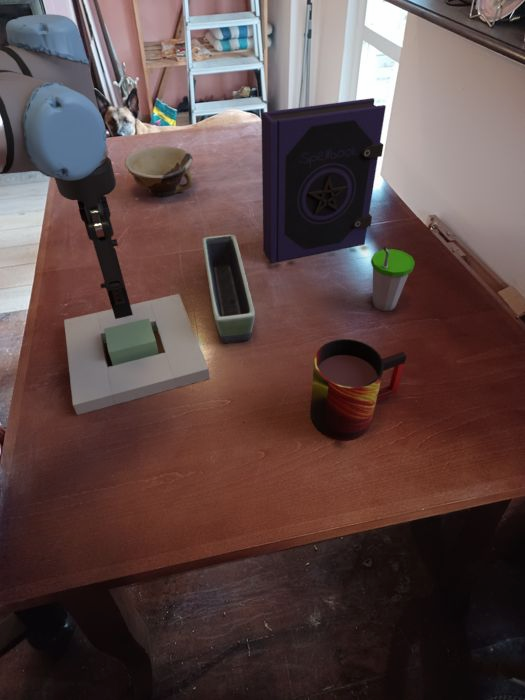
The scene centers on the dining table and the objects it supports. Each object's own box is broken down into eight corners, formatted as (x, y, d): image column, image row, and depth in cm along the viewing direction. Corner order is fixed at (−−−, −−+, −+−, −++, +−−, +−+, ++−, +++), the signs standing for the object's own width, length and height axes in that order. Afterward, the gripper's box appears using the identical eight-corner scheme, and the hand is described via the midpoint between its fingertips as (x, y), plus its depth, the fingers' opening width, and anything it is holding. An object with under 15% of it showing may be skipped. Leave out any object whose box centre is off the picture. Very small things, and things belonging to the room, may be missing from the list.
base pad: (77, 415, 76) (72, 405, 74) (67, 329, 91) (63, 319, 89) (210, 378, 81) (208, 368, 80) (180, 303, 96) (178, 293, 94)
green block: (114, 370, 83) (108, 352, 80) (109, 346, 87) (103, 328, 84) (160, 359, 85) (155, 340, 82) (153, 336, 89) (148, 318, 86)
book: (271, 264, 106) (271, 122, 85) (262, 249, 110) (260, 111, 89) (367, 245, 111) (389, 106, 90) (355, 231, 115) (373, 96, 94)
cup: (392, 289, 99) (407, 223, 88) (411, 312, 93) (428, 245, 83) (358, 296, 97) (368, 230, 87) (374, 320, 92) (387, 253, 81)
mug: (396, 397, 78) (411, 343, 69) (349, 452, 70) (359, 399, 62) (346, 369, 82) (355, 316, 74) (297, 418, 75) (300, 365, 67)
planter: (257, 345, 87) (256, 314, 82) (217, 350, 86) (214, 320, 81) (237, 261, 107) (235, 233, 102) (204, 265, 106) (201, 236, 101)
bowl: (119, 203, 128) (111, 168, 121) (150, 175, 140) (143, 141, 133) (180, 211, 124) (174, 176, 117) (205, 181, 136) (202, 148, 129)
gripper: (121, 190, 56) (155, 334, 71) (100, 129, 70) (132, 260, 86) (54, 201, 54) (104, 346, 70) (47, 136, 68) (89, 269, 84)
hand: (119, 299), depth 78 cm, fingers open, 8 cm apart
